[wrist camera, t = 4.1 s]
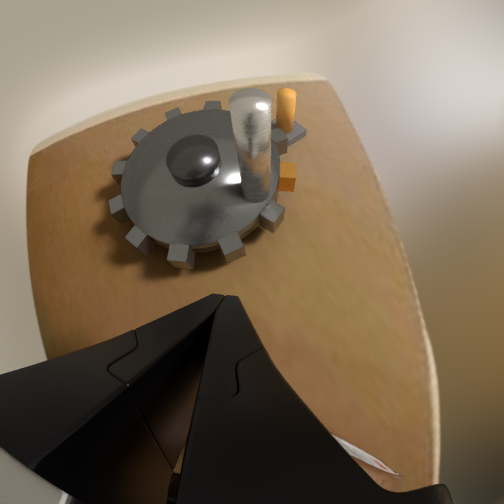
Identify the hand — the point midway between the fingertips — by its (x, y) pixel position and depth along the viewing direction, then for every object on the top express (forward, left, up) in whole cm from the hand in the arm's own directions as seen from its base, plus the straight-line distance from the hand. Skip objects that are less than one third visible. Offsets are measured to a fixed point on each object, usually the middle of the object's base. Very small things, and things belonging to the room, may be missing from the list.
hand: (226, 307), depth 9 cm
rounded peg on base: (+18, -2, -12) cm, 22 cm away
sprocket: (+11, +5, -11) cm, 17 cm away
